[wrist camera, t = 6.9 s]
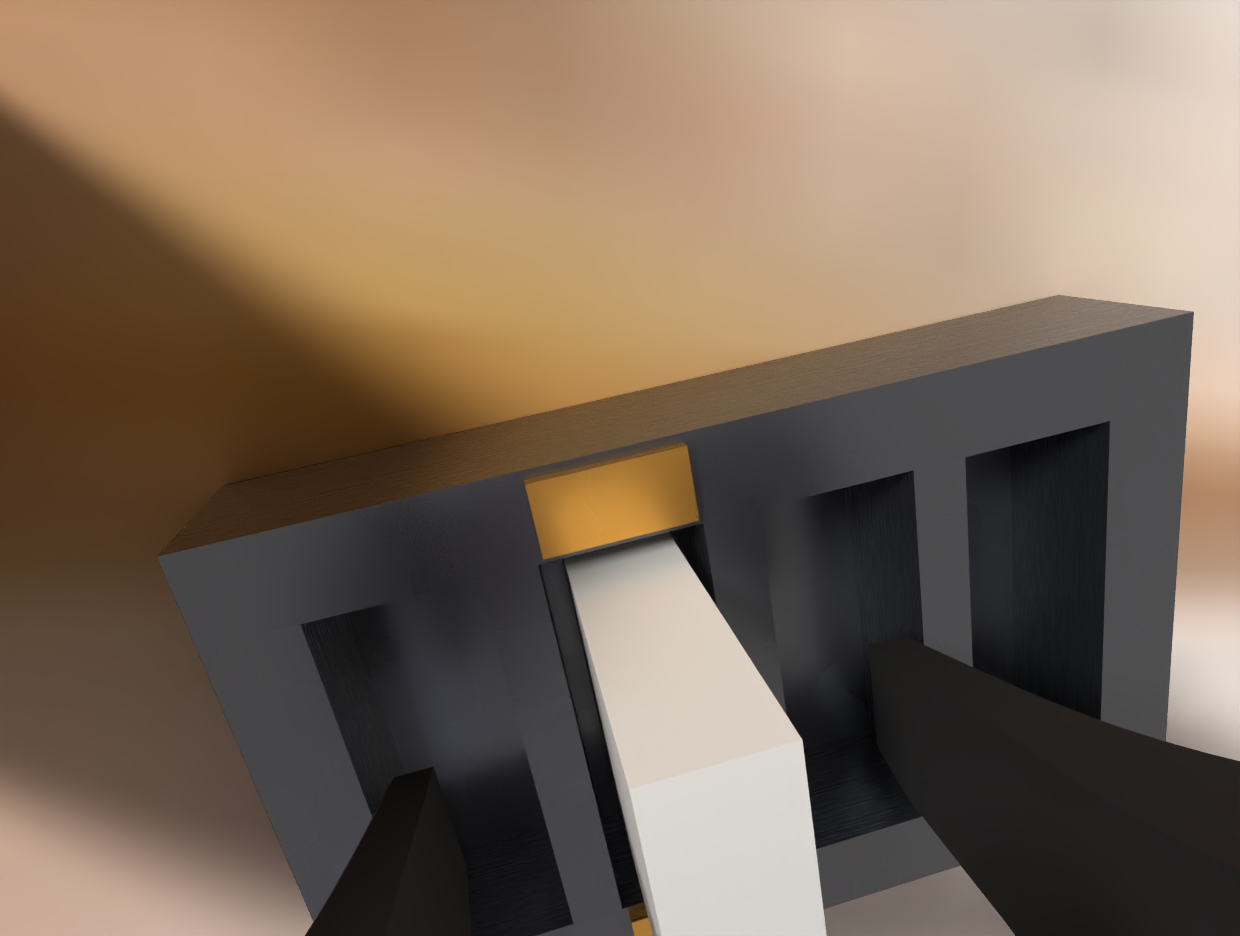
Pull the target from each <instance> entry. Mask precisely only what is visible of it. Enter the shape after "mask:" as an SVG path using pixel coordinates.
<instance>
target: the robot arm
mask: <svg viewBox="0 0 1240 936" xmlns="http://www.w3.org/2000/svg"><path fill="white" fill-rule="evenodd" d="M869 657H870V668H871V679H872V691H873V702H874V714H875V725H876V736H877V746H878V748H879V750H880V752H881V753H882V755H883V757H884V758H885V760H886V762H887V763H888V765H889V767H890V769H891V770H892V772H893V774H894V775H895V777H896V779H897V780H898V782H899V783H900V785H901V787H902V788H903V790H904V792H905V793H906V795H907V796H908V798H909V800H910V801H911V802H912V804H913V805H914V806H915V808H916V809H917V810H918V812H919V813H920V814H921V815H922V817H923V818H924V819H925V821H926V822H927V823H928V824H929V826H930V827H931V828H932V830H933V831H934V832H935V833H936V835H937V836H938V837H939V839H940V840H941V841H942V842H943V844H944V845H945V846H946V847H947V849H948V850H949V851H950V852H951V854H952V855H953V856H954V858H955V859H956V860H957V861H958V863H959V864H960V865H961V866H962V868H963V869H964V870H965V871H966V873H967V874H968V875H969V876H970V878H971V879H972V880H973V881H974V883H975V884H976V885H977V887H978V888H979V889H980V890H981V892H982V893H983V894H984V895H985V897H986V898H987V899H988V900H989V902H990V903H991V904H992V905H993V907H994V908H995V909H996V911H997V912H998V913H999V914H1000V916H1001V917H1002V918H1003V919H1004V921H1005V922H1006V923H1007V925H1008V926H1009V927H1010V929H1011V930H1012V931H1013V933H1014V934H1015V936H1240V761H1236V760H1232V759H1228V758H1224V757H1220V756H1216V755H1212V754H1208V753H1204V752H1200V751H1197V750H1193V749H1189V748H1186V747H1182V746H1179V745H1175V744H1172V743H1169V742H1165V741H1162V740H1159V739H1156V738H1153V737H1149V736H1146V735H1143V734H1140V733H1137V732H1134V731H1130V730H1127V729H1124V728H1121V727H1118V726H1115V725H1112V724H1110V723H1107V722H1104V721H1101V720H1098V719H1095V718H1093V717H1090V716H1088V715H1085V714H1082V713H1080V712H1077V711H1075V710H1072V709H1069V708H1067V707H1064V706H1062V705H1059V704H1056V703H1054V702H1051V701H1049V700H1047V699H1044V698H1042V697H1039V696H1037V695H1034V694H1032V693H1030V692H1027V691H1025V690H1023V689H1020V688H1018V687H1016V686H1013V685H1011V684H1009V683H1007V682H1004V681H1002V680H1000V679H998V678H995V677H993V676H991V675H989V674H986V673H984V672H982V671H980V670H978V669H975V668H973V667H971V666H969V665H967V664H965V663H962V662H960V661H958V660H956V659H954V658H952V657H950V656H947V655H945V654H943V653H941V652H939V651H936V650H934V649H932V648H930V647H928V646H925V645H923V644H921V643H919V642H916V641H914V640H912V639H909V638H907V637H904V636H901V637H897V638H894V639H890V640H887V641H883V642H879V643H876V644H872V645H869ZM305 936H471V923H470V905H469V891H468V877H467V867H466V863H465V860H464V857H463V854H462V851H461V848H460V845H459V842H458V839H457V836H456V833H455V830H454V827H453V824H452V821H451V818H450V815H449V812H448V809H447V806H446V803H445V800H444V797H443V794H442V791H441V787H440V784H439V781H438V778H437V775H436V772H435V769H434V766H433V767H430V768H426V769H423V770H419V771H415V772H412V773H408V774H405V775H401V776H397V777H394V778H393V780H392V781H391V783H390V784H389V786H388V788H387V790H386V792H385V794H384V796H383V798H382V800H381V802H380V804H379V806H378V808H377V809H376V811H375V813H374V815H373V817H372V819H371V821H370V823H369V825H368V827H367V829H366V831H365V833H364V835H363V836H362V838H361V840H360V842H359V844H358V846H357V848H356V850H355V851H354V853H353V855H352V857H351V859H350V860H349V862H348V864H347V866H346V868H345V869H344V871H343V873H342V875H341V876H340V878H339V880H338V882H337V884H336V885H335V887H334V889H333V891H332V892H331V894H330V896H329V898H328V899H327V901H326V903H325V904H324V906H323V908H322V909H321V911H320V912H319V914H318V916H317V917H316V919H315V920H314V922H313V924H312V925H311V927H310V928H309V930H308V932H307V933H306V935H305Z"/></svg>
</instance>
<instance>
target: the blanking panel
mask: <svg viewBox="0 0 1240 936" xmlns="http://www.w3.org/2000/svg"><path fill="white" fill-rule="evenodd" d="M562 560H563V565H564V569H565V574H566V578H567V582H568V587H569V591H570V595H571V600H572V604H573V608H574V613H575V617H576V622H577V626H578V630H579V635H580V639H581V643H582V648H583V652H584V656H585V661H586V665H587V670H588V674H589V678H590V683H591V687H592V691H593V696H594V700H595V704H596V709H597V713H598V718H599V722H600V726H601V731H602V735H603V739H604V744H605V748H606V752H607V757H608V761H609V765H610V770H611V774H612V779H613V783H614V787H615V791H616V795H617V799H618V803H619V806H620V810H621V814H622V818H623V822H624V826H625V830H626V834H627V837H628V841H629V845H630V849H631V853H632V857H633V861H634V865H635V868H636V872H637V876H638V880H639V884H640V888H641V892H642V896H643V899H644V903H645V907H646V911H647V915H648V919H649V923H650V927H651V930H652V934H653V936H827V934H826V926H825V918H824V910H823V902H822V894H821V886H820V878H819V870H818V862H817V854H816V845H815V837H814V829H813V821H812V813H811V805H810V797H809V789H808V781H807V773H806V764H805V756H804V748H803V740H802V738H801V737H800V735H799V734H798V732H797V731H796V729H795V728H794V726H793V725H792V723H791V721H790V720H789V718H788V717H787V715H786V714H785V712H784V711H783V709H782V707H781V706H780V704H779V703H778V701H777V700H776V698H775V697H774V695H773V693H772V692H771V690H770V689H769V687H768V686H767V684H766V683H765V681H764V680H763V678H762V676H761V675H760V673H759V672H758V670H757V669H756V667H755V666H754V664H753V662H752V661H751V659H750V658H749V656H748V655H747V653H746V652H745V650H744V649H743V647H742V645H741V644H740V642H739V641H738V639H737V638H736V636H735V635H734V633H733V631H732V630H731V628H730V627H729V625H728V624H727V622H726V621H725V619H724V617H723V616H722V614H721V613H720V611H719V610H718V608H717V607H716V605H715V604H714V602H713V600H712V599H711V597H710V596H709V594H708V593H707V591H706V590H705V588H704V586H703V585H702V583H701V582H700V580H699V579H698V577H697V576H696V574H695V572H694V571H693V569H692V568H691V566H690V565H689V563H688V562H687V560H686V559H685V557H684V555H683V554H682V552H681V551H680V549H679V548H678V546H677V545H676V543H675V541H674V540H673V538H672V537H671V535H670V534H669V532H666V533H662V534H658V535H654V536H650V537H646V538H642V539H638V540H634V541H630V542H627V543H623V544H619V545H615V546H611V547H607V548H603V549H599V550H595V551H591V552H587V553H583V554H579V555H575V556H571V557H567V558H563V559H562Z"/></svg>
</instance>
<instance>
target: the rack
mask: <svg viewBox="0 0 1240 936" xmlns="http://www.w3.org/2000/svg"><path fill="white" fill-rule="evenodd" d="M1193 316H1194V312H1192V311H1183V310H1175V309H1167V308H1159V307H1151V306H1143V305H1135V304H1127V303H1119V302H1110V301H1102V300H1094V299H1086V298H1078V297H1070V296H1062V295H1057V296H1053V297H1049V298H1044V299H1040V300H1035V301H1031V302H1027V303H1022V304H1018V305H1014V306H1009V307H1005V308H1000V309H996V310H992V311H987V312H983V313H979V314H974V315H970V316H965V317H961V318H957V319H952V320H948V321H943V322H939V323H935V324H930V325H926V326H922V327H917V328H913V329H908V330H904V331H900V332H895V333H891V334H886V335H882V336H878V337H873V338H869V339H865V340H860V341H856V342H851V343H847V344H843V345H838V346H834V347H830V348H825V349H821V350H816V351H812V352H808V353H803V354H799V355H794V356H790V357H786V358H781V359H777V360H773V361H768V362H764V363H759V364H755V365H751V366H746V367H742V368H737V369H733V370H729V371H724V372H720V373H716V374H711V375H707V376H702V377H698V378H694V379H689V380H685V381H680V382H676V383H672V384H667V385H663V386H659V387H654V388H650V389H645V390H641V391H637V392H632V393H628V394H624V395H619V396H615V397H610V398H606V399H602V400H597V401H593V402H588V403H584V404H580V405H575V406H571V407H567V408H562V409H558V410H553V411H549V412H545V413H540V414H536V415H531V416H527V417H523V418H518V419H514V420H510V421H505V422H501V423H496V424H492V425H488V426H483V427H479V428H475V429H470V430H466V431H461V432H457V433H453V434H448V435H444V436H439V437H435V438H431V439H426V440H422V441H418V442H413V443H409V444H404V445H400V446H396V447H391V448H387V449H382V450H378V451H374V452H369V453H365V454H361V455H356V456H352V457H347V458H343V459H339V460H334V461H330V462H326V463H321V464H317V465H312V466H308V467H304V468H299V469H295V470H290V471H286V472H282V473H277V474H273V475H269V476H264V477H260V478H255V479H251V480H247V481H242V482H238V483H233V484H229V485H225V486H222V487H221V489H220V490H219V491H218V492H217V493H216V494H215V495H214V496H213V497H212V498H211V499H210V500H209V501H208V502H207V504H206V505H205V506H204V507H203V508H202V509H201V510H200V511H199V512H198V513H197V514H196V515H195V516H194V517H193V519H192V520H191V521H190V522H189V523H188V524H187V525H186V526H185V527H184V528H183V529H182V530H181V531H180V532H179V534H178V535H177V536H176V537H175V538H174V539H173V540H172V541H171V542H170V543H169V544H168V545H167V546H166V547H165V549H164V550H163V551H162V552H161V553H160V554H159V555H158V556H157V559H158V561H159V563H160V565H161V568H162V570H163V572H164V575H165V577H166V579H167V582H168V584H169V586H170V589H171V591H172V593H173V596H174V598H175V600H176V603H177V605H178V607H179V610H180V612H181V614H182V617H183V619H184V621H185V624H186V626H187V628H188V631H189V633H190V635H191V638H192V640H193V642H194V645H195V647H196V649H197V652H198V654H199V656H200V659H201V661H202V663H203V666H204V668H205V670H206V672H207V675H208V677H209V679H210V682H211V684H212V686H213V689H214V691H215V693H216V696H217V698H218V700H219V703H220V705H221V707H222V710H223V712H224V714H225V717H226V719H227V721H228V724H229V726H230V728H231V731H232V733H233V735H234V738H235V740H236V742H237V745H238V747H239V749H240V752H241V754H242V756H243V759H244V761H245V763H246V766H247V768H248V770H249V773H250V775H251V777H252V779H253V782H254V784H255V786H256V789H257V791H258V793H259V796H260V798H261V800H262V803H263V805H264V807H265V810H266V812H267V814H268V817H269V819H270V821H271V824H272V826H273V828H274V831H275V833H276V835H277V838H278V840H279V842H280V845H281V847H282V849H283V852H284V854H285V856H286V859H287V861H288V863H289V866H290V868H291V870H292V873H293V875H294V877H295V879H296V882H297V884H298V886H299V889H300V891H301V893H302V896H303V898H304V900H305V903H306V905H307V907H308V910H309V912H310V914H311V917H312V919H313V921H314V920H315V919H316V917H317V916H318V914H319V912H320V911H321V909H322V908H323V906H324V904H325V903H326V901H327V899H328V898H329V896H330V894H331V892H332V891H333V889H334V887H335V885H336V884H337V882H338V880H339V878H340V876H341V875H342V873H343V871H344V869H345V868H346V866H347V864H348V862H349V860H350V859H351V857H352V855H353V853H354V851H355V850H356V848H357V846H358V844H359V842H360V840H361V838H362V836H363V835H364V833H365V831H366V829H367V827H368V825H369V823H370V821H371V819H372V817H373V815H374V813H375V811H376V809H377V808H378V806H379V804H380V802H381V800H382V798H383V796H384V794H385V792H386V790H387V788H388V786H389V784H390V783H391V781H392V780H393V778H394V777H397V776H401V775H405V774H408V773H412V772H415V771H419V770H423V769H426V768H430V767H433V766H434V769H435V772H436V775H437V778H438V781H439V784H440V787H441V791H442V794H443V797H444V800H445V803H446V806H447V809H448V812H449V815H450V818H451V821H452V824H453V827H454V830H455V833H456V836H457V839H458V842H459V845H460V848H461V851H462V854H463V857H464V860H465V863H466V867H467V877H468V891H469V905H470V923H471V936H653V934H652V930H651V927H650V923H649V919H648V915H647V911H646V907H645V903H644V899H643V896H642V892H641V888H640V884H639V880H638V876H637V872H636V868H635V865H634V861H633V857H632V853H631V849H630V845H629V841H628V837H627V834H626V830H625V826H624V822H623V818H622V814H621V810H620V806H619V803H618V799H617V795H616V791H615V787H614V783H613V779H612V774H611V770H610V765H609V761H608V757H607V752H606V748H605V744H604V739H603V735H602V731H601V726H600V722H599V718H598V713H597V709H596V704H595V700H594V696H593V691H592V687H591V683H590V678H589V674H588V670H587V665H586V661H585V656H584V652H583V648H582V643H581V639H580V635H579V630H578V626H577V622H576V617H575V613H574V608H573V604H572V600H571V595H570V591H569V587H568V582H567V578H566V574H565V569H564V565H563V560H562V559H563V558H567V557H571V556H575V555H579V554H583V553H587V552H591V551H595V550H599V549H603V548H607V547H611V546H615V545H619V544H623V543H627V542H630V541H634V540H638V539H642V538H646V537H650V536H654V535H658V534H662V533H666V532H669V534H670V535H671V537H672V538H673V540H674V541H675V543H676V545H677V546H678V548H679V549H680V551H681V552H682V554H683V555H684V557H685V559H686V560H687V562H688V563H689V565H690V566H691V568H692V569H693V571H694V572H695V574H696V576H697V577H698V579H699V580H700V582H701V583H702V585H703V586H704V588H705V590H706V591H707V593H708V594H709V596H710V597H711V599H712V600H713V602H714V604H715V605H716V607H717V608H718V610H719V611H720V613H721V614H722V616H723V617H724V619H725V621H726V622H727V624H728V625H729V627H730V628H731V630H732V631H733V633H734V635H735V636H736V638H737V639H738V641H739V642H740V644H741V645H742V647H743V649H744V650H745V652H746V653H747V655H748V656H749V658H750V659H751V661H752V662H753V664H754V666H755V667H756V669H757V670H758V672H759V673H760V675H761V676H762V678H763V680H764V681H765V683H766V684H767V686H768V687H769V689H770V690H771V692H772V693H773V695H774V697H775V698H776V700H777V701H778V703H779V704H780V706H781V707H782V709H783V711H784V712H785V714H786V715H787V717H788V718H789V720H790V721H791V723H792V725H793V726H794V728H795V729H796V731H797V732H798V734H799V735H800V737H801V738H802V740H803V748H804V756H805V764H806V773H807V781H808V789H809V797H810V805H811V813H812V821H813V829H814V837H815V845H816V854H817V862H818V870H819V878H820V886H821V894H822V902H823V909H825V908H828V907H831V906H834V905H837V904H840V903H844V902H847V901H850V900H853V899H856V898H859V897H862V896H866V895H869V894H872V893H875V892H878V891H881V890H884V889H888V888H891V887H894V886H897V885H900V884H903V883H906V882H910V881H913V880H916V879H919V878H922V877H925V876H928V875H932V874H935V873H938V872H941V871H944V870H947V869H950V868H954V867H957V866H960V864H959V863H958V861H957V860H956V859H955V858H954V856H953V855H952V854H951V852H950V851H949V850H948V849H947V847H946V846H945V845H944V844H943V842H942V841H941V840H940V839H939V837H938V836H937V835H936V833H935V832H934V831H933V830H932V828H931V827H930V826H929V824H928V823H927V822H926V821H925V819H924V818H923V817H922V815H921V814H920V813H919V812H918V810H917V809H916V808H915V806H914V805H913V804H912V802H911V801H910V800H909V798H908V796H907V795H906V793H905V792H904V790H903V788H902V787H901V785H900V783H899V782H898V780H897V779H896V777H895V775H894V774H893V772H892V770H891V769H890V767H889V765H888V763H887V762H886V760H885V758H884V757H883V755H882V753H881V752H880V750H879V748H878V746H877V736H876V725H875V714H874V702H873V691H872V679H871V668H870V657H869V645H872V644H876V643H879V642H883V641H887V640H890V639H894V638H897V637H901V636H904V637H907V638H909V639H912V640H914V641H916V642H919V643H921V644H923V645H925V646H928V647H930V648H932V649H934V650H936V651H939V652H941V653H943V654H945V655H947V656H950V657H952V658H954V659H956V660H958V661H960V662H962V663H965V664H967V665H969V666H971V667H973V668H975V669H978V670H980V671H982V672H984V673H986V674H989V675H991V676H993V677H995V678H998V679H1000V680H1002V681H1004V682H1007V683H1009V684H1011V685H1013V686H1016V687H1018V688H1020V689H1023V690H1025V691H1027V692H1030V693H1032V694H1034V695H1037V696H1039V697H1042V698H1044V699H1047V700H1049V701H1051V702H1054V703H1056V704H1059V705H1062V706H1064V707H1067V708H1069V709H1072V710H1075V711H1077V712H1080V713H1082V714H1085V715H1088V716H1090V717H1093V718H1095V719H1098V720H1101V721H1104V722H1107V723H1110V724H1112V725H1115V726H1118V727H1121V728H1124V729H1127V730H1130V731H1134V732H1137V733H1140V734H1143V735H1146V736H1149V737H1153V738H1156V739H1159V740H1162V741H1165V742H1166V727H1167V712H1168V696H1169V681H1170V666H1171V651H1172V635H1173V620H1174V605H1175V590H1176V575H1177V559H1178V544H1179V529H1180V514H1181V499H1182V483H1183V468H1184V453H1185V438H1186V422H1187V407H1188V392H1189V377H1190V362H1191V346H1192V331H1193Z"/></svg>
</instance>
